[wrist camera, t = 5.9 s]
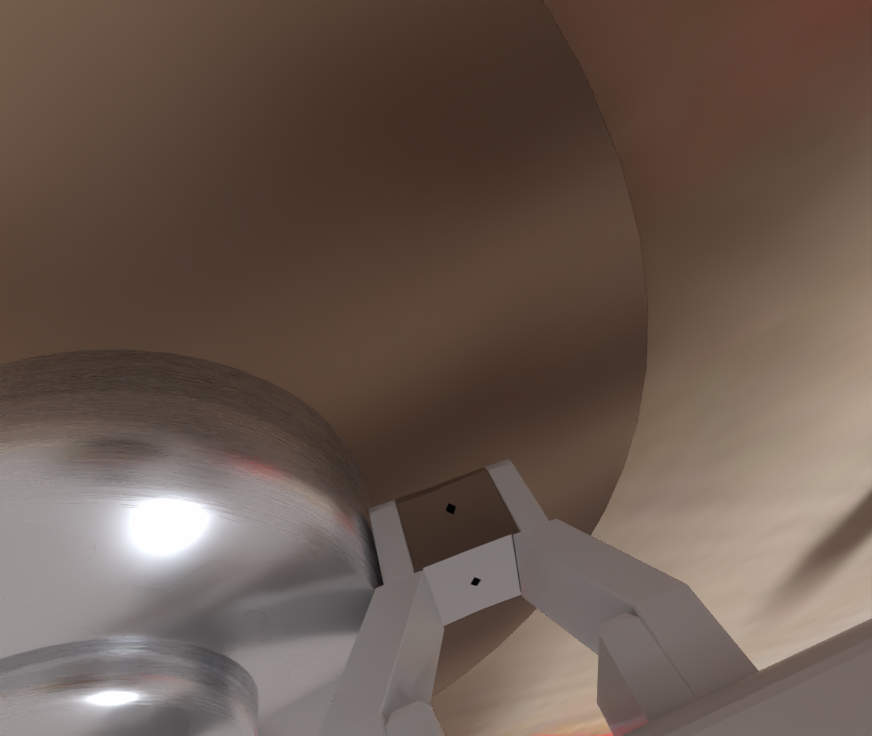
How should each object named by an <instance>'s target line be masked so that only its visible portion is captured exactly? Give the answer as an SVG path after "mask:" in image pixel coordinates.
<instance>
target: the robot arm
mask: <svg viewBox="0 0 872 736" xmlns="http://www.w3.org/2000/svg"><path fill="white" fill-rule="evenodd" d="M370 520H371V525H372V530H373V535H374V540H375V545H376V550H377V555H378V560H379V565H380V570H381V575H382V580H383V585H382V586H379V587H377V588H375V591H374V594H373V596H372V599H371V601H370V604H369V607H368V609H367V612H366V614H365V617H364V620H363V622H362V625H361V627H360V630H359V633H358V635H357V638H356V640H355V643H354V646H353V648H352V651H351V653H350V656H349V658H348V661H347V664H346V666H345V669H344V671H343V674H342V677H341V679H340V682H339V684H338V687H337V690H336V692H335V695H334V697H333V700H332V703H331V705H330V708H329V710H328V713H327V716H326V718H325V721H324V723H323V726H322V728H321V731H320V734H319V736H445V734H444V732H443V730H442V728H441V726H440V724H439V722H438V719H437V717H436V715H435V713H434V711H433V709H432V706H430V701H431V696H432V691H433V685H434V680H435V675H436V670H437V664H438V659H439V654H440V649H441V644H442V638H443V633H444V627H443V626H445V625H447V624H449V623H452V622H454V621H456V620H458V619H461V618H463V617H465V616H467V615H470V614H472V613H474V612H477V611H479V610H481V609H484V608H486V607H489V606H492V605H494V604H497V603H500V602H502V601H505V600H508V599H511V598H513V597H516V596H519V595H521V594H522V597H523V598H525V599H526V600H527V601H528V602H530V603H531V604H532V605H534V606H535V607H536V608H538V609H539V610H540V611H541V612H543V613H544V614H545V615H547V616H548V617H549V618H551V619H552V620H553V621H554V622H556V623H557V624H558V625H560V626H561V627H562V628H564V629H565V630H566V631H567V632H569V633H570V634H571V635H573V636H574V637H575V638H577V639H578V640H579V641H580V642H582V643H583V644H584V645H586V646H587V647H588V648H590V649H591V650H592V651H593V652H595V653H596V654H597V655H599V658H598V685H597V704H598V706H599V708H600V710H601V712H602V713H603V715H604V717H605V719H606V721H607V723H608V725H609V727H610V729H611V731H612V733H613V735H614V736H872V619H870V620H867V621H865V622H863V623H861V624H859V625H857V626H855V627H852V628H850V629H848V630H846V631H844V632H842V633H840V634H837V635H835V636H833V637H831V638H829V639H827V640H825V641H822V642H820V643H818V644H816V645H814V646H812V647H810V648H807V649H805V650H803V651H801V652H799V653H797V654H795V655H792V656H790V657H788V658H786V659H784V660H782V661H780V662H777V663H775V664H773V665H771V666H769V667H767V668H765V669H762V670H760V671H758V670H757V668H756V667H755V666H754V665H753V664H752V662H751V661H750V660H749V659H748V658H747V656H746V655H745V654H744V653H743V651H742V650H741V649H740V648H739V647H738V645H737V644H736V643H735V642H734V641H733V639H732V638H731V637H730V636H729V635H728V633H727V632H726V631H725V630H724V629H723V627H722V626H721V625H720V624H719V622H718V621H717V620H716V619H715V618H714V616H713V615H712V614H711V613H710V612H709V610H708V609H707V608H706V607H705V606H704V604H703V603H702V602H701V601H700V600H699V598H698V597H697V596H696V595H695V593H694V592H693V591H692V590H691V589H690V587H689V586H688V585H687V584H685V583H683V582H681V581H679V580H677V579H675V578H673V577H671V576H669V575H667V574H665V573H663V572H661V571H659V570H658V569H656V568H654V567H652V566H650V565H648V564H646V563H644V562H642V561H640V560H638V559H636V558H634V557H632V556H630V555H628V554H626V553H624V552H622V551H620V550H618V549H616V548H614V547H612V546H610V545H608V544H606V543H604V542H602V541H600V540H598V539H596V538H594V537H592V536H590V535H588V534H586V533H584V532H582V531H580V530H578V529H576V528H574V527H572V526H570V525H568V524H567V523H565V522H563V521H561V520H559V519H557V518H556V519H553V520H550V521H549V520H548V518H547V517H546V515H545V514H544V512H543V511H542V509H541V507H540V506H539V504H538V503H537V501H536V499H535V498H534V496H533V495H532V493H531V492H530V490H529V488H528V487H527V485H526V484H525V482H524V480H523V479H522V477H521V476H520V474H519V473H518V471H517V469H516V468H515V466H514V465H513V463H512V462H511V461H510V460H508V459H505V460H503V461H500V462H497V463H494V464H492V465H489V466H486V467H484V468H480V469H477V470H475V471H472V472H469V473H467V474H464V475H461V476H459V477H456V478H453V479H451V480H448V481H445V482H443V483H440V484H437V485H436V486H433V487H430V488H427V489H424V490H421V491H418V492H415V493H412V494H409V495H406V496H403V497H400V498H397V499H395V500H392V501H389V502H386V503H383V504H380V505H377V506H374V507H371V508H370Z"/></svg>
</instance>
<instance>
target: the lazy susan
mask: <svg viewBox="0 0 872 736" xmlns="http://www.w3.org/2000/svg"><path fill="white" fill-rule="evenodd" d="M647 321H648V303H647V294H646V286H645V277H644V268H643V259H642V250H641V242H640V236H639V232H638V228H637V224H636V220H635V216H634V212H633V209H632V205H631V201H630V197H629V193H628V189H627V185H626V181H625V178H624V174H623V170H622V166H621V162H620V159H619V156H618V154H617V151H616V149H615V147H614V144H613V142H612V139H611V137H610V134H609V132H608V130H607V127H606V125H605V122H604V120H603V117H602V115H601V113H600V110H599V108H598V105H597V103H596V100H595V98H594V96H593V93H592V91H591V88H590V86H589V83H588V81H587V78H586V76H585V74H584V71H583V69H582V67H581V65H580V64H579V62H578V60H577V59H576V57H575V55H574V53H573V52H572V50H571V48H570V46H569V45H568V43H567V41H566V39H565V38H564V36H563V34H562V33H561V31H560V29H559V27H558V26H557V24H556V22H555V20H554V19H553V17H552V15H551V13H550V12H549V10H548V8H547V6H546V5H545V3H544V1H543V0H0V365H1V364H6V363H10V362H14V361H18V360H23V359H27V358H31V357H36V356H40V355H48V354H56V353H64V352H72V351H80V350H117V349H127V350H140V351H153V352H166V353H171V354H177V355H183V356H188V357H194V358H199V359H205V360H208V361H212V362H215V363H219V364H222V365H226V366H229V367H233V368H236V369H239V370H242V371H244V372H247V373H249V374H252V375H254V376H257V377H259V378H262V379H264V380H266V381H269V382H271V383H273V384H275V385H276V386H278V387H280V388H282V389H284V390H286V391H287V392H289V393H291V394H293V395H295V396H296V397H298V398H299V399H301V400H302V401H303V402H305V403H306V404H308V405H309V406H310V407H312V408H313V409H314V410H316V411H317V412H319V413H320V414H321V415H322V416H323V417H324V418H325V419H326V420H327V421H328V422H329V423H330V424H331V425H332V426H333V427H334V428H335V429H336V430H337V431H338V432H339V434H340V435H341V436H342V438H343V439H344V440H345V442H346V443H347V444H348V446H349V447H350V448H351V450H352V452H353V454H354V456H355V458H356V460H357V462H358V464H359V465H360V468H361V472H362V475H363V478H364V481H365V484H366V489H367V494H368V499H369V503H370V508H371V507H374V506H377V505H380V504H383V503H386V502H389V501H392V500H395V499H397V498H400V497H403V496H406V495H409V494H412V493H415V492H418V491H421V490H424V489H427V488H430V487H433V486H436V485H437V484H440V483H443V482H445V481H448V480H451V479H453V478H456V477H459V476H461V475H464V474H467V473H469V472H472V471H475V470H477V469H480V468H484V467H486V466H489V465H492V464H494V463H497V462H500V461H503V460H505V459H508V460H510V461H511V462H512V463H513V465H514V466H515V468H516V469H517V471H518V473H519V474H520V476H521V477H522V479H523V480H524V482H525V484H526V485H527V487H528V488H529V490H530V492H531V493H532V495H533V496H534V498H535V499H536V501H537V503H538V504H539V506H540V507H541V509H542V511H543V512H544V514H545V515H546V517H547V518H548V520H549V521H550V520H553V519H556V518H557V519H559V520H561V521H563V522H565V523H567V524H568V525H570V526H572V527H574V528H576V529H578V530H580V531H582V532H584V533H586V534H588V535H591V534H592V532H593V530H594V529H595V527H596V525H597V523H598V522H599V520H600V518H601V516H602V515H603V513H604V511H605V509H606V507H607V504H608V502H609V500H610V498H611V495H612V493H613V491H614V488H615V486H616V484H617V481H618V479H619V477H620V475H621V472H622V470H623V468H624V464H625V461H626V458H627V454H628V451H629V448H630V444H631V441H632V437H633V434H634V431H635V427H636V424H637V421H638V415H639V409H640V403H641V397H642V390H643V384H644V378H645V372H646V360H647ZM535 609H536V607H535V606H534V605H532V604H531V603H530V602H528V601H527V600H526V599H525V598H523V597H522V594H521V595H519V596H516V597H513V598H511V599H508V600H505V601H502V602H500V603H497V604H494V605H492V606H489V607H486V608H484V609H481V610H479V611H477V612H474V613H472V614H470V615H467V616H465V617H463V618H461V619H458V620H456V621H454V622H452V623H449V624H447V625H445V626H443V627H444V633H443V638H442V644H441V649H440V654H439V659H438V664H437V670H436V675H435V680H434V685H433V691H432V696H431V697H433V696H434V695H436V694H437V693H438V692H440V691H441V690H443V689H444V688H445V687H447V686H448V685H450V684H451V683H452V682H454V681H455V680H457V679H458V678H460V677H461V676H462V675H464V674H465V673H466V672H468V671H469V670H470V669H471V668H472V667H474V666H475V665H476V664H477V663H478V662H480V661H481V660H482V659H483V658H485V657H486V656H487V655H488V654H489V653H491V652H492V651H493V650H494V649H496V648H497V647H498V646H499V645H500V644H501V643H502V642H503V641H504V640H505V639H506V638H507V637H508V636H509V635H510V634H511V633H513V632H514V631H515V630H516V629H517V628H518V627H519V626H520V625H521V624H522V623H523V622H524V621H525V620H526V619H527V618H528V617H529V616H530V615H531V614H532V613H533V611H534V610H535Z"/></svg>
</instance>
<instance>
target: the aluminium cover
mask: <svg viewBox="0 0 872 736" xmlns="http://www.w3.org/2000/svg"><path fill="white" fill-rule="evenodd" d="M382 585H383V580H382V575H381V570H380V565H379V560H378V555H377V550H376V545H375V540H374V535H373V530H372V525H371V520H370V503H369V499H368V494H367V489H366V484H365V481H364V478H363V475H362V472H361V468H360V465H359V464H358V462H357V460H356V458H355V456H354V454H353V452H352V450H351V448H350V447H349V446H348V444H347V443H346V442H345V440H344V439H343V438H342V436H341V435H340V434H339V432H338V431H337V430H336V429H335V428H334V427H333V426H332V425H331V424H330V423H329V422H328V421H327V420H326V419H325V418H324V417H323V416H322V415H321V414H320V413H319V412H317V411H316V410H314V409H313V408H312V407H310V406H309V405H308V404H306V403H305V402H303V401H302V400H301V399H299V398H298V397H296V396H295V395H293V394H291V393H289V392H287V391H286V390H284V389H282V388H280V387H278V386H276V385H275V384H273V383H271V382H269V381H266V380H264V379H262V378H259V377H257V376H254V375H252V374H249V373H247V372H244V371H242V370H239V369H236V368H233V367H229V366H226V365H222V364H219V363H215V362H212V361H208V360H205V359H199V358H194V357H188V356H183V355H177V354H171V353H166V352H153V351H140V350H127V349H117V350H80V351H72V352H64V353H56V354H48V355H40V356H36V357H31V358H27V359H23V360H18V361H14V362H10V363H6V364H1V365H0V736H319V734H320V731H321V728H322V726H323V723H324V721H325V718H326V716H327V713H328V710H329V708H330V705H331V703H332V700H333V697H334V695H335V692H336V690H337V687H338V684H339V682H340V679H341V677H342V674H343V671H344V669H345V666H346V664H347V661H348V658H349V656H350V653H351V651H352V648H353V646H354V643H355V640H356V638H357V635H358V633H359V630H360V627H361V625H362V622H363V620H364V617H365V614H366V612H367V609H368V607H369V604H370V601H371V599H372V596H373V594H374V591H375V588H377V587H379V586H382Z"/></svg>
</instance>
